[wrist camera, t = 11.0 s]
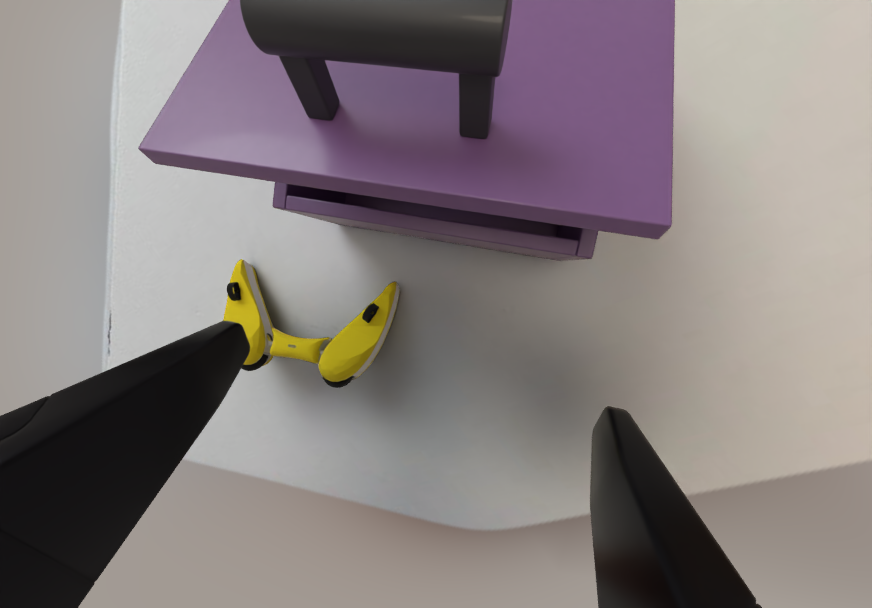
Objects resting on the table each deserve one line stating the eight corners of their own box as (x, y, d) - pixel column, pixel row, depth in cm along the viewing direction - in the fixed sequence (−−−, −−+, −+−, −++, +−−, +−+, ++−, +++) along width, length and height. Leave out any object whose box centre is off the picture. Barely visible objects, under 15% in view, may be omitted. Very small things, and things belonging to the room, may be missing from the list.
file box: (561, 260, 20) (592, 259, 14) (337, 224, 22) (271, 207, 16) (607, 43, 19) (667, -74, 12) (363, 23, 21) (302, -88, 14)
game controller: (233, 367, 23) (192, 360, 20) (263, 273, 25) (230, 252, 21) (384, 396, 22) (367, 394, 18) (405, 294, 23) (394, 275, 20)
